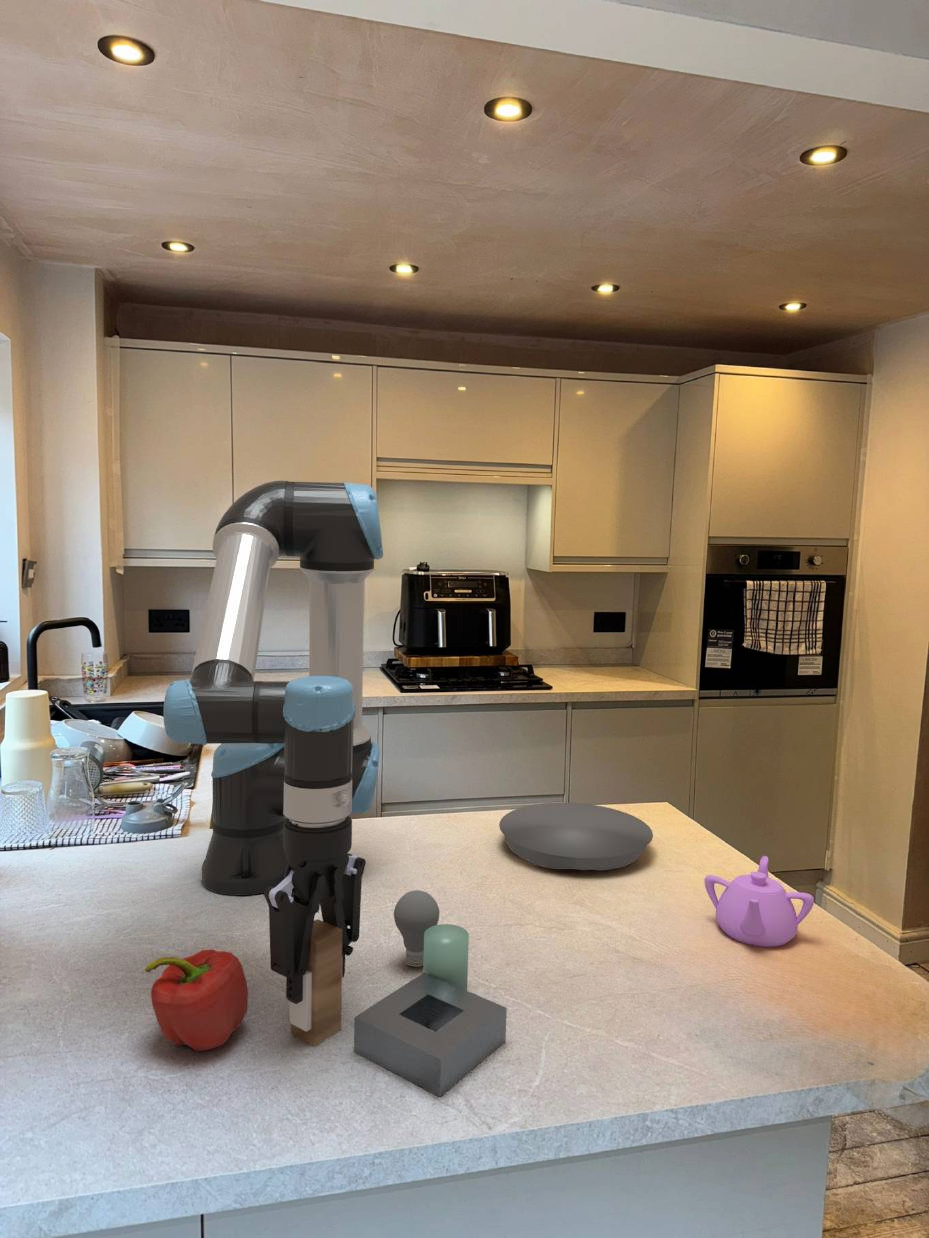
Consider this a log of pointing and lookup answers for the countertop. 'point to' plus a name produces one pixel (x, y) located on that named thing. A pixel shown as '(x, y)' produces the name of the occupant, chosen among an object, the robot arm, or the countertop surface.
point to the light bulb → (415, 922)
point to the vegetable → (199, 998)
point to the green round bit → (447, 954)
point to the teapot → (757, 908)
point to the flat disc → (575, 836)
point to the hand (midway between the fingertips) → (316, 1015)
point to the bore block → (430, 1032)
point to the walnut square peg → (324, 983)
